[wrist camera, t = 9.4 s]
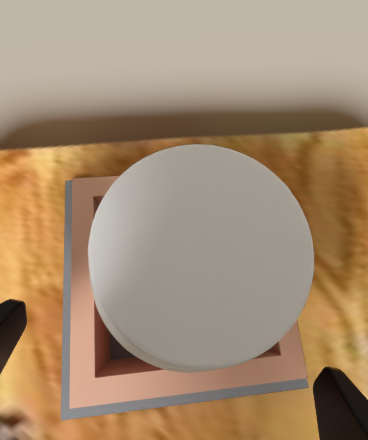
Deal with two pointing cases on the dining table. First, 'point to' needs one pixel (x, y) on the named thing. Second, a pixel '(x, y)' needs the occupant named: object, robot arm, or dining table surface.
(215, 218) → the pill bottle
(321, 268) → the dining table surface
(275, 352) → the bottle stand
